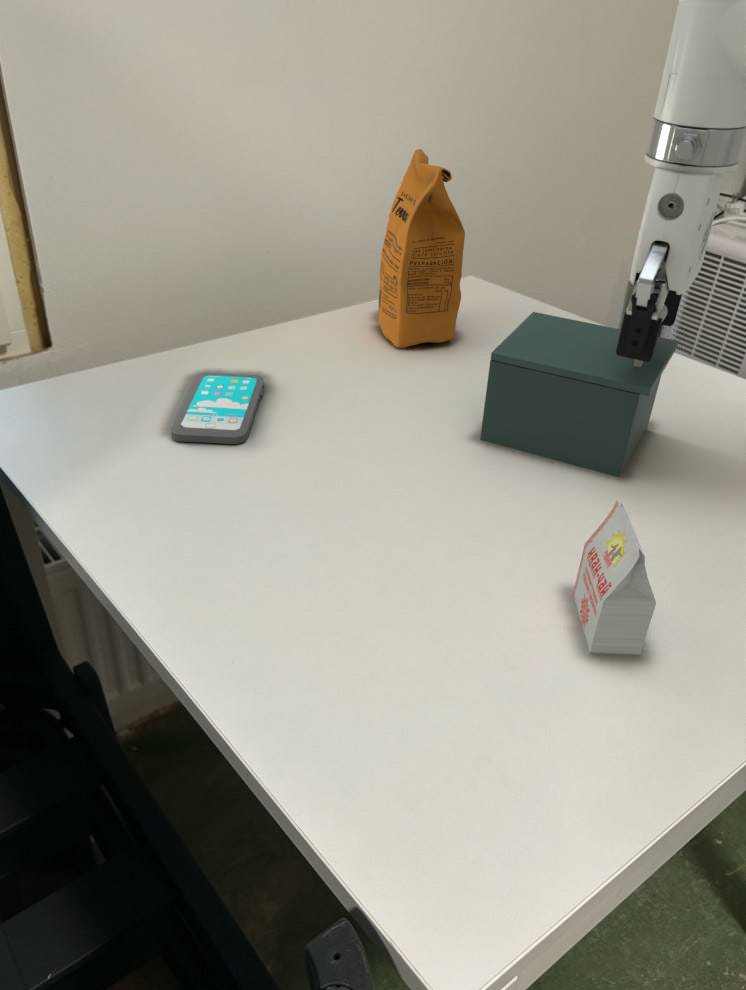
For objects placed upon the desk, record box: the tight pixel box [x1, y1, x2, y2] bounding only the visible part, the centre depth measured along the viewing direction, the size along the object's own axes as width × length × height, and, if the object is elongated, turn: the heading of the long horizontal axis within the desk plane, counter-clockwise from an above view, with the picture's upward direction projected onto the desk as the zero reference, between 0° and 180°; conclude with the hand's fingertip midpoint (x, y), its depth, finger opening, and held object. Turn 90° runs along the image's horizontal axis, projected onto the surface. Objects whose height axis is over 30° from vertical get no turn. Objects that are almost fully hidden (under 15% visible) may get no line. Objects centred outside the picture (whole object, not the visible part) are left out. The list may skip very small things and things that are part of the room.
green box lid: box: [490, 303, 680, 396], centre depth 81 cm, size 15×13×6 cm
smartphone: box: [170, 372, 265, 445], centre depth 93 cm, size 9×1×15 cm
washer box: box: [479, 359, 663, 478], centre depth 86 cm, size 15×13×10 cm
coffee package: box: [378, 148, 466, 349], centre depth 105 cm, size 10×12×22 cm
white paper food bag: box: [572, 500, 657, 656], centre depth 61 cm, size 4×7×10 cm, turn 178°
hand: (645, 339), depth 79 cm, fingers open, 9 cm apart
